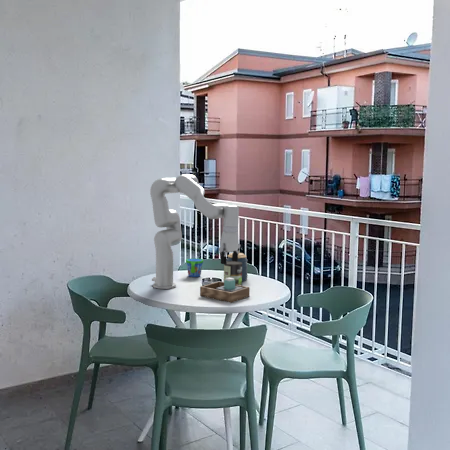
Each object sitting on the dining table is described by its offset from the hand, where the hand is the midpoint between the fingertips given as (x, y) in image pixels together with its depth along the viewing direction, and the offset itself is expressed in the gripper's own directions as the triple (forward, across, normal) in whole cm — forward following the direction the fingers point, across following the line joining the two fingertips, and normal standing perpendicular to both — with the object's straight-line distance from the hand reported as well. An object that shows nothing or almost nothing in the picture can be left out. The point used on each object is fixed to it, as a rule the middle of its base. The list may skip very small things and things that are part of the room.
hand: (229, 262), depth 262 cm
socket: (+17, 0, +1) cm, 17 cm away
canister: (+19, -36, -20) cm, 45 cm away
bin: (+18, 0, -2) cm, 18 cm away
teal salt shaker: (+17, 0, +1) cm, 17 cm away
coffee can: (+19, -18, -10) cm, 28 cm away
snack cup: (+19, -26, -44) cm, 55 cm away
